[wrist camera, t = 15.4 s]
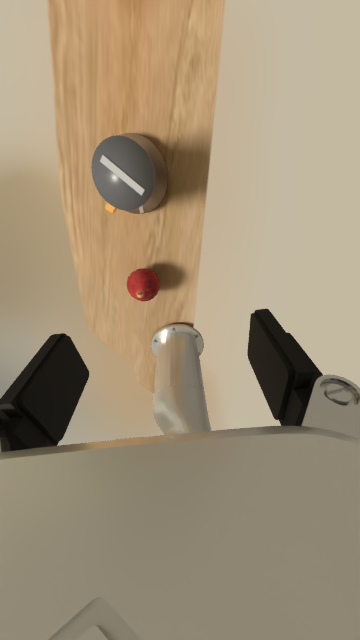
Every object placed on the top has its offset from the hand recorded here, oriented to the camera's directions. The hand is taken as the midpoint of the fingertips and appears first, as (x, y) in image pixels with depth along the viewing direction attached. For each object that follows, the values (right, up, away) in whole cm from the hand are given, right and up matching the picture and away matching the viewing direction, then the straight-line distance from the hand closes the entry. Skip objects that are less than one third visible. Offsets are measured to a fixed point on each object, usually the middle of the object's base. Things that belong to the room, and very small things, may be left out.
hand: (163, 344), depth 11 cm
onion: (-6, +10, +30) cm, 32 cm away
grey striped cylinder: (-6, +20, +16) cm, 26 cm away
